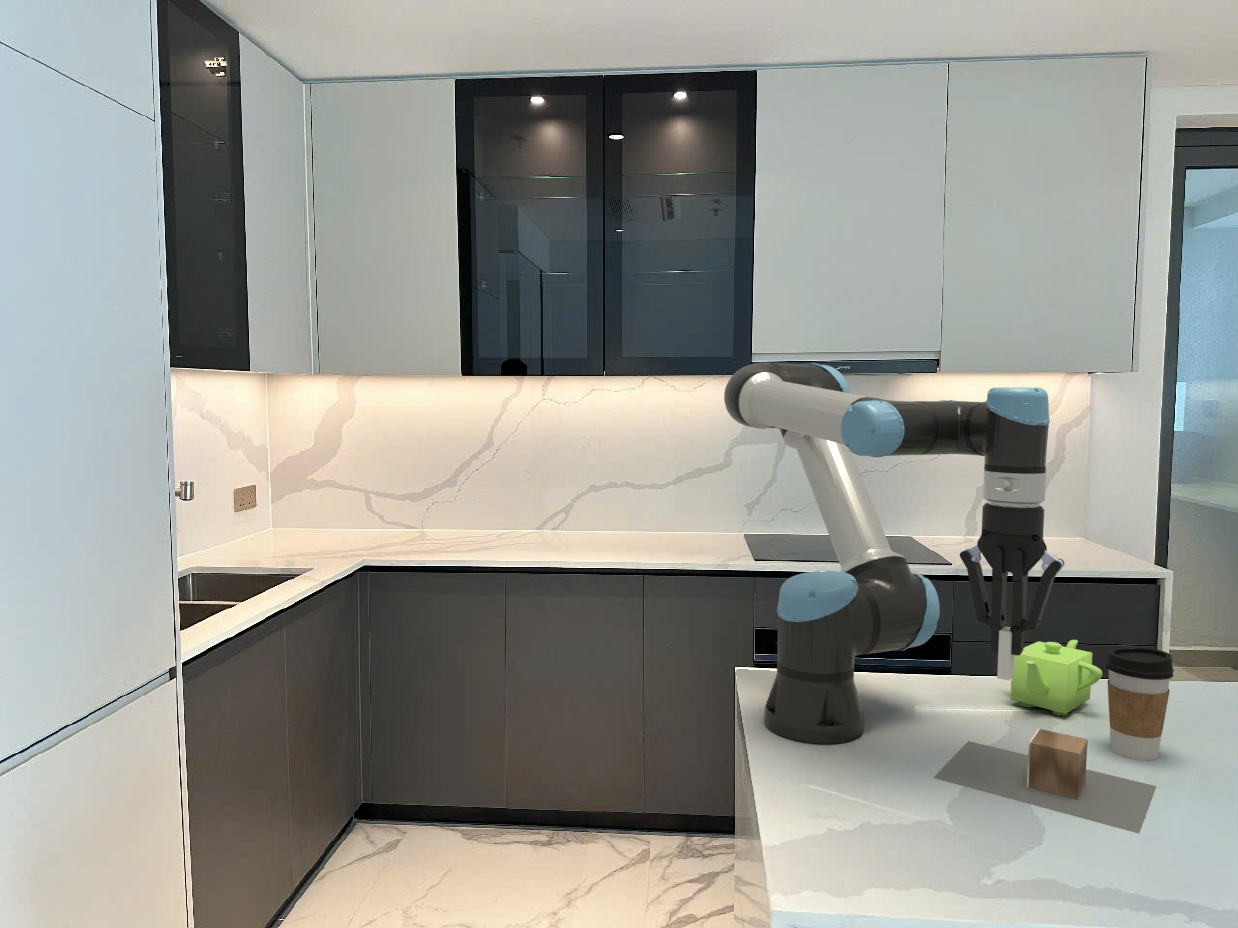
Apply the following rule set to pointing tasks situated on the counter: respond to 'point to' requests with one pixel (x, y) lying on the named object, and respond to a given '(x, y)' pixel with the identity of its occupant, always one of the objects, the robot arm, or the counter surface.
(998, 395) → the robot arm
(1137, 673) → the coffee cup
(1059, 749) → the walnut cube
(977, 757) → the rubber mat
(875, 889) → the counter surface
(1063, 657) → the teapot
